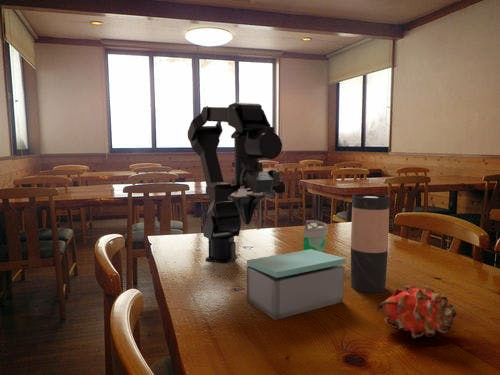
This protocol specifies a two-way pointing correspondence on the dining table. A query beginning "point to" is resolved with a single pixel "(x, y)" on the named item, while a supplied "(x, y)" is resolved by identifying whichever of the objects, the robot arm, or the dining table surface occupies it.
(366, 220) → the travel mug
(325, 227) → the food container
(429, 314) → the dragon fruit
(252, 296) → the grey rectangular box
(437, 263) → the dining table surface
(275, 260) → the mint green lid
